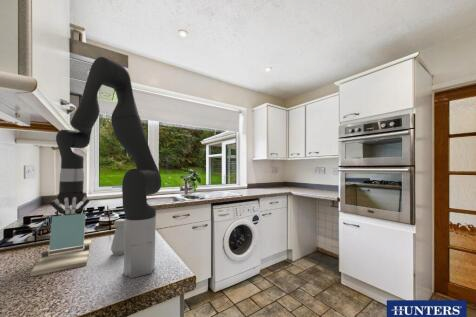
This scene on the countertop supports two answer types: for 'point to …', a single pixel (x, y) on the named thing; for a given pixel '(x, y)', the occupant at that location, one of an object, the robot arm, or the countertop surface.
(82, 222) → the tile
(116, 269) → the countertop surface
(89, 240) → the board
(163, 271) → the countertop surface
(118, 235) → the salt shaker
